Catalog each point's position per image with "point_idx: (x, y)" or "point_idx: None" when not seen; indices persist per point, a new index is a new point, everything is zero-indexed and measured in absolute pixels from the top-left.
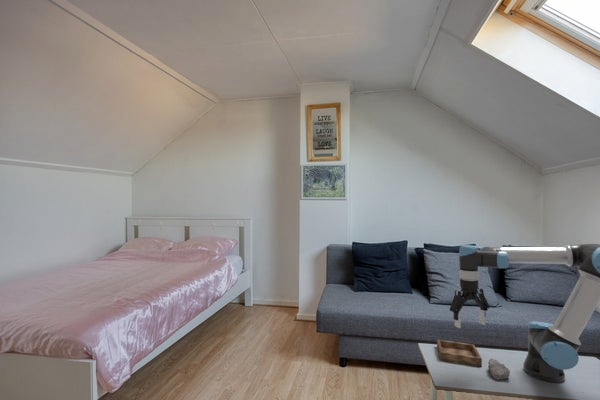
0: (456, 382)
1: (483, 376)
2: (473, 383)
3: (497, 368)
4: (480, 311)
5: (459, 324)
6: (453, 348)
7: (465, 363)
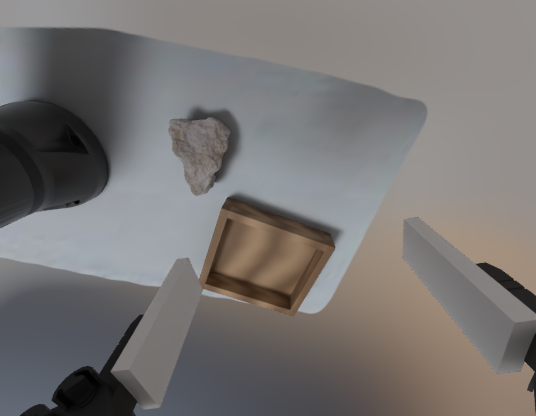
0: (366, 110)
1: (253, 145)
2: (313, 103)
3: (204, 141)
4: (158, 371)
5: (434, 233)
6: (256, 285)
7: (268, 213)
